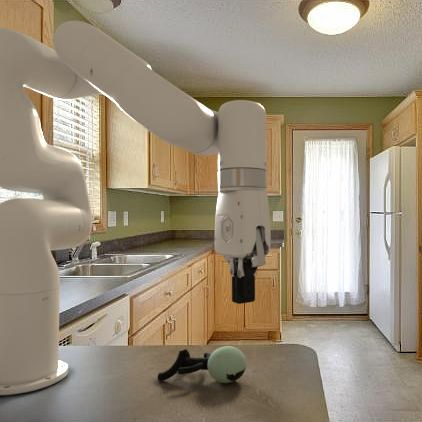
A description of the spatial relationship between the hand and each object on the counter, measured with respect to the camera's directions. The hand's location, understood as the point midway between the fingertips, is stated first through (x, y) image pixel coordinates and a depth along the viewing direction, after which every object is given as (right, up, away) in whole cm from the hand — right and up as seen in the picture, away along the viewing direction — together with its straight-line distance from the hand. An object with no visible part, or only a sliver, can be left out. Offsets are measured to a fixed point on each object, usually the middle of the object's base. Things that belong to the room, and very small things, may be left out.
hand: (243, 301), depth 59 cm
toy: (-8, -16, +9) cm, 20 cm away
